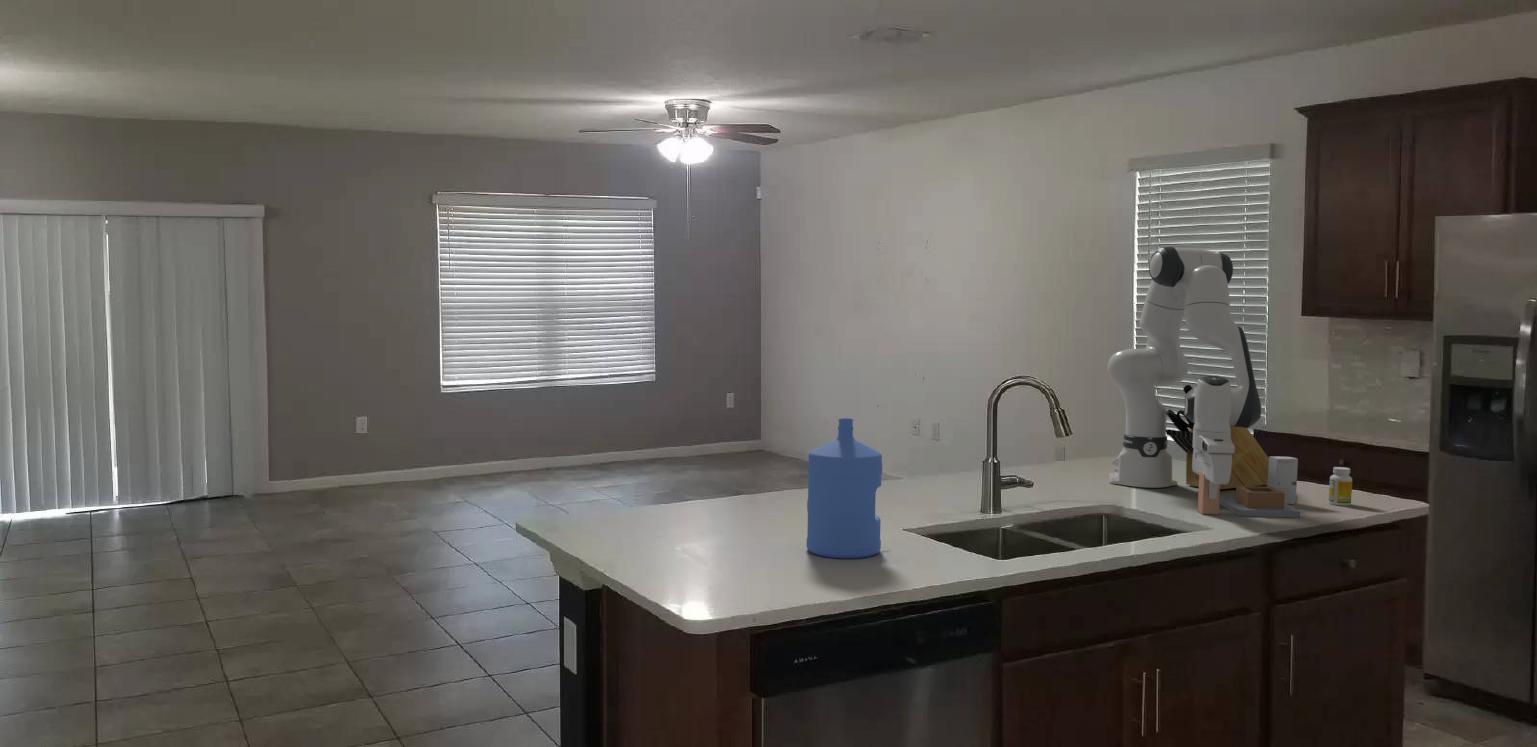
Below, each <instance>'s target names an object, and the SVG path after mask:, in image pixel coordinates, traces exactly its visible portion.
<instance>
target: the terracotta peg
mask: <svg viewBox="0 0 1537 747" xmlns="http://www.w3.org/2000/svg"><path fill="white" fill-rule="evenodd" d="M1209 487H1210V485H1209V481H1208V480H1207V479H1205V474H1203V473H1201V472H1199V487H1198V498H1197V501H1198V502H1197V512H1199V513H1200V514H1202V515H1220V499H1221V498H1220V496H1221V495H1220V492H1221V489H1220V484H1219V488H1218V491H1217V498H1216V499H1210V498H1209V497H1208V491H1209Z"/></svg>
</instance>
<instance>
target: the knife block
mask: <svg viewBox="0 0 1537 747" xmlns="http://www.w3.org/2000/svg"><path fill="white" fill-rule="evenodd" d="M1193 388H1194V387H1193V386H1191V385H1190V384H1187V385H1185V386H1184V387H1183V388H1182V389H1183V392H1184V395H1186V394H1187V393H1188V392H1189V391H1190V390H1191V389H1193ZM1165 414H1166V415H1167V416H1168V418H1169V419H1170V421H1171V422H1172V423H1173V425H1174V426H1175V427H1176V428H1177V429H1178V430H1175V429H1170V428H1169V429H1168V428H1166V436H1169V437H1170V438H1171V439H1172V440H1173V441H1174V443H1175V444H1176V445H1178V447H1179V448H1181V449H1182V451H1183V452H1185V453H1186V458H1185V459H1186V460H1185V461H1186V464H1185V466H1186V467H1185V468H1186V471H1185V482H1186V485H1189V486H1190V487H1198V488H1199V475H1198V474H1196V473H1194V472H1193V470H1192V458H1193V449H1194V448H1193V447H1192V446H1193V427H1194V424H1195V423H1193V422H1191V421H1189V420H1188V419H1187V418H1186V417H1185V416H1184V410H1181V409H1179V410H1178V411H1177V412H1174V411H1173V410H1171V409H1166V412H1165ZM1181 416H1183V417H1184V418H1185V420H1186V421H1187V422H1186V421H1185V420H1184V419H1183V418H1182V417H1181ZM1230 428H1231V441H1232V442H1233V444H1234V446H1235V451H1234V453H1233V454H1231V455H1232V467H1231V476H1230V480H1229V483H1228V484H1220V490H1225V489H1227V490H1228V489H1236V486H1254V487H1262V486H1263V487H1268V468H1269V456H1268V455H1267V454H1266V452H1265V451H1264V450H1263V448H1262V447H1261V445H1260V444H1259V443H1258V441H1257V440H1256V438H1255V437H1254V436H1253V434H1252V433H1251V432H1250V430H1249V428H1242V427H1234V426H1230Z"/></svg>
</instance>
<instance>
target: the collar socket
mask: <svg viewBox="0 0 1537 747" xmlns="http://www.w3.org/2000/svg"><path fill="white" fill-rule="evenodd" d="M1284 500H1285V493H1284V492H1281V491H1279V490H1277V489H1275V488H1273V487H1268V486H1236V488H1235V499H1234V498H1232V499H1231V498H1219V506H1222V507H1223V508H1224V509H1226V510H1228V511H1230V512H1231V513H1233V514H1234V515H1236V516H1239V517H1267V518H1298V519H1299V518H1301V516H1302V515H1301V514H1302V511H1300V510H1299V509H1296V508H1295V507H1292V506H1290V505H1289V504H1285V503H1284Z"/></svg>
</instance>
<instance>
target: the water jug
mask: <svg viewBox="0 0 1537 747" xmlns="http://www.w3.org/2000/svg"><path fill="white" fill-rule="evenodd" d="M837 421H838V426H837V429H838V431H837V432H838V433H837V434H838V435H837V438H835V439H833V440H832V441H830V442H826V443H825V444H823V445H820V446H818V447H817V448H815V449H812V450H811V451H809V453H808V460H807V472H808V474H807V476H808V478H807V483H808V484H807V502H806V510H807V531H806V532H807V534H806V535H807V536H806V549H807V550H808V552H810V553H812V554H814V555H817V556H820V557H825V558H831V559H842V560H843V559H847V560H848V559H863V558H870V557H872V556H875V555H877V554H878V553H879V552H880V551H881V546H882V544H881V542H882V541H881V518H880V516H878V515H877V514H876V499H877V498H876V495H877V490H878V488H880V487H881V486H882V474H883V462H882V461H883V460H882V459H883V454H882V453H880V451H877V449H876V450H875V449H873V448H871V447H870V446H868V445H866V444H864V443H862V442H860V441H858V440H856V438H854V426H853V425H854V424H853V422H854V419H853V418H847V417H846V418H838V419H837Z"/></svg>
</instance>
